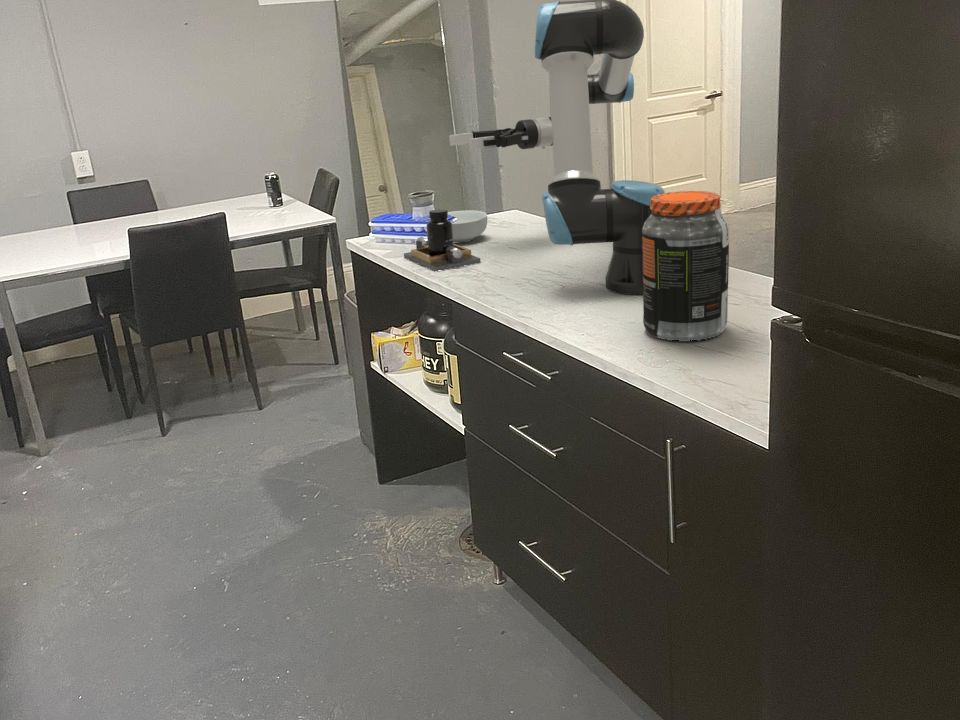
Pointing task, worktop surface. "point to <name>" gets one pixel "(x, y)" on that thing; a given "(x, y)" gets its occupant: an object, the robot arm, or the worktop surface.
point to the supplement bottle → (439, 232)
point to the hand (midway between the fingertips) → (459, 142)
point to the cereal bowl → (468, 225)
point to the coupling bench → (441, 256)
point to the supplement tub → (685, 266)
